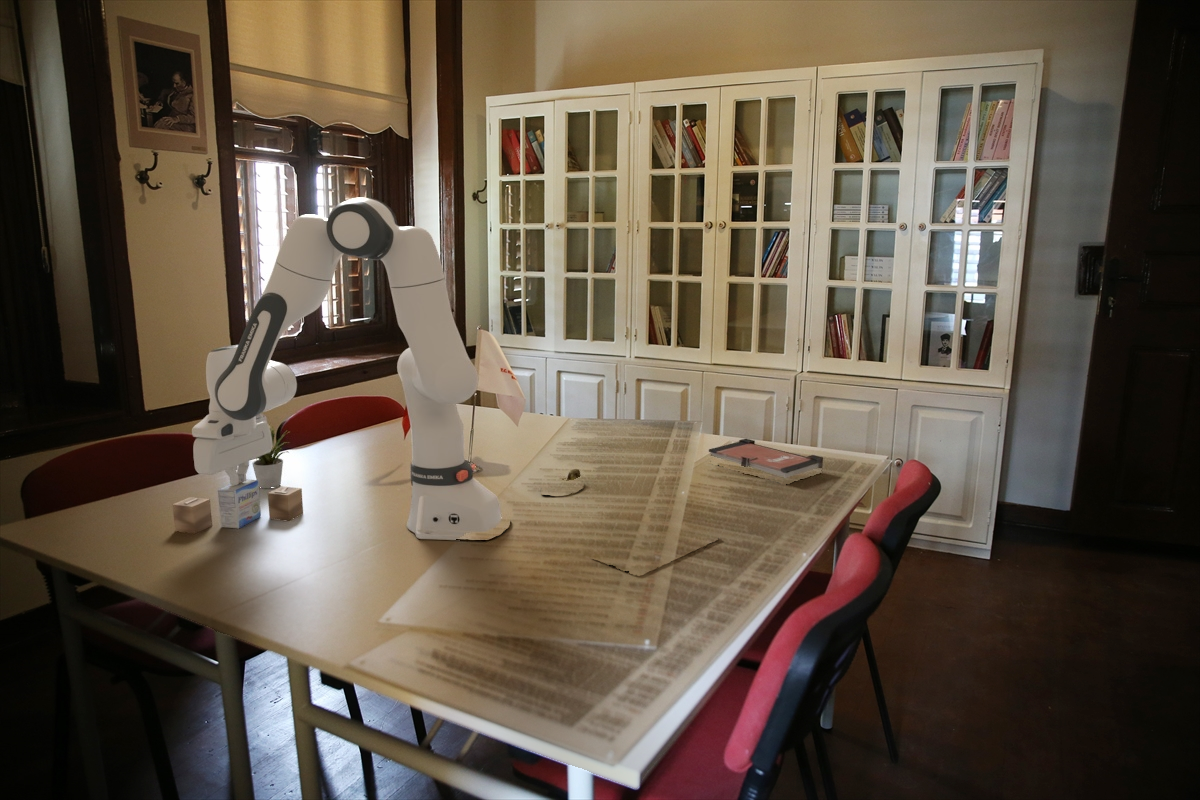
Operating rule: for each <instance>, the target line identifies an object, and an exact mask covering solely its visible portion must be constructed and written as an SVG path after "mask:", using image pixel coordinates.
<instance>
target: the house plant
mask: <svg viewBox="0 0 1200 800" xmlns="http://www.w3.org/2000/svg"><path fill="white" fill-rule="evenodd" d="M268 425H269V427H270V431H271V437H272V444H273V447H272V450H271V452H269V453H267V454H264V455H262V456H259V457H257V458H255V459H256V460H254V461H253V462H252V468H253V471H254V474H255V480H257V481H258V486H259V487H261V488H260V489H262V488H271V487H276V486H278V487H280V486H281V485H280V484H282V475H283V474H282V473H283V466H284V465H283V464H284V459H282V458H280V456H281V455H282V454H285V453H289V454H290V452H289V451H288V450H287V451H282V449H283V448H282V447H281V446H282V445H284V444H289V443H290V442H289V441H288V442H287V441H286V442H285V441H284V442H283V443H280V442H281V440H282V439H283V438H284V437H285V436H286V431H285V432H283V434H282V435H281V436H280V438H279V439H278V440H277V441H276V442H274V441H275V436H276V434H275V428H274V427H273V426H272V427H271V423H268ZM288 433H290V431H288V432H287V434H288ZM280 451H282V452H280ZM279 485H280V486H279ZM276 488H277V487H276ZM271 489H272V488H271Z"/></svg>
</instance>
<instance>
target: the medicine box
mask: <svg viewBox="0 0 1200 800" xmlns="http://www.w3.org/2000/svg"><path fill="white" fill-rule="evenodd" d="M217 497H218V507H219V519H220V526H221V528H226V529H238V530H239V528H240V529H241V528H243V527H245V526H247V525H248V523H249V524H250V523H252V522H254V521H255V519H256V520H257V519H259V518H261V517H262V515H261V513H262V512H261V501H260V500H261V499H260V488H259V486H258V481H257V480H256V479H249V478H248V479H247V478H246V481H245V482H243V483H240V484H238V485H231V484H228V485H226V486H223V487H222V488H219V489H217ZM253 520H254V521H253ZM246 524H247V525H246ZM244 525H245V526H244Z"/></svg>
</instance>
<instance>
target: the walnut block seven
mask: <svg viewBox="0 0 1200 800" xmlns="http://www.w3.org/2000/svg"><path fill="white" fill-rule="evenodd" d="M302 490H303V489H302V488H299V487H293V486H292V487H291V486H279V487H277V488H275V489H273V490H271V491H269V492H267V499H268V514H269V516H268V517H269V519H270V518H271V519H270V520H275V519H280V520H279V521H284V520H287V521H286V522H290V521H293V520H294V519H296V518H298V517H300V516H302V515H303V514H304V506H303V491H302ZM301 514H302V515H301ZM299 515H300V516H299ZM297 516H298V517H297ZM293 518H294V519H293Z"/></svg>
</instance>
